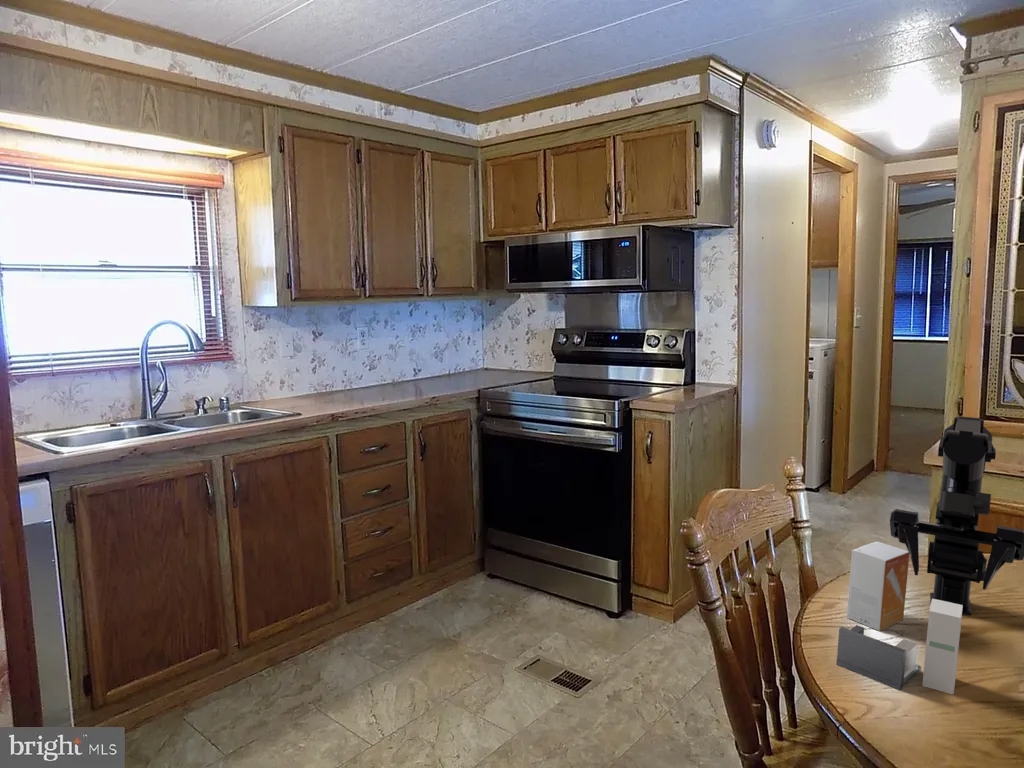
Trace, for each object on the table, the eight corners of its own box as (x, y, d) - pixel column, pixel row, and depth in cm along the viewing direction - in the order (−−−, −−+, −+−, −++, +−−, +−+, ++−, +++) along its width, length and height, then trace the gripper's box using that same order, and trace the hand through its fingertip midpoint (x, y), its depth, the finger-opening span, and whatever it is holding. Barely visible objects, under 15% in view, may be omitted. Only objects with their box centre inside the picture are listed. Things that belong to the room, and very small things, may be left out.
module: (925, 670, 110) (932, 598, 109) (955, 679, 108) (962, 605, 106) (922, 686, 106) (929, 610, 105) (953, 694, 104) (961, 618, 102)
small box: (880, 632, 123) (885, 560, 121) (845, 617, 128) (850, 549, 126) (904, 620, 127) (910, 551, 125) (870, 606, 132) (875, 540, 130)
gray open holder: (858, 647, 117) (861, 613, 117) (920, 671, 110) (923, 635, 109) (836, 664, 112) (838, 629, 111) (899, 690, 105) (903, 652, 104)
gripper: (895, 462, 119) (881, 545, 112) (1032, 480, 108) (1026, 573, 101) (898, 496, 127) (884, 575, 119) (1026, 515, 116) (1020, 604, 109)
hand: (949, 581), depth 112 cm, fingers open, 9 cm apart
